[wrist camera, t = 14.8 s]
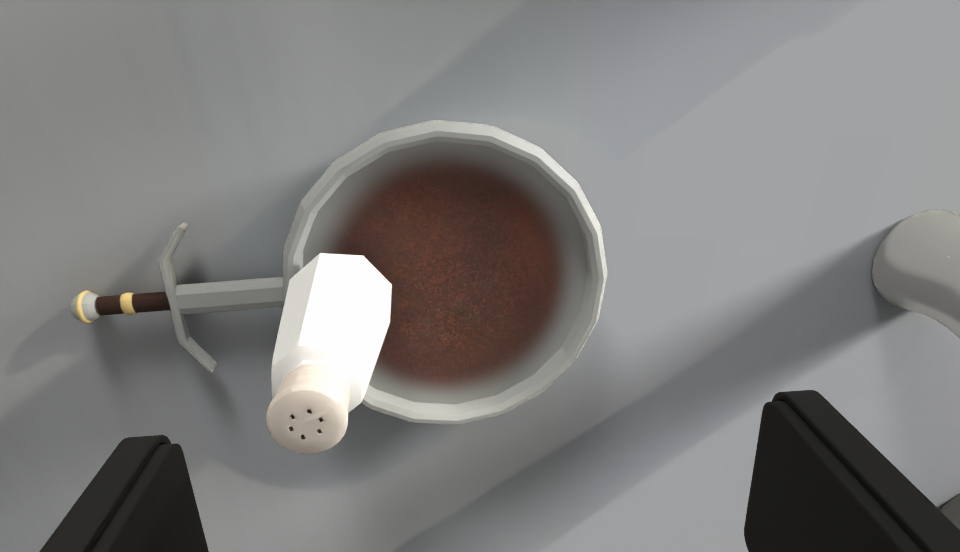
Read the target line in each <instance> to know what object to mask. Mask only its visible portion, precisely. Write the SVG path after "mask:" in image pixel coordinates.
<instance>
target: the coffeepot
mask: <svg viewBox="0 0 960 552" xmlns="http://www.w3.org/2000/svg"><path fill="white" fill-rule="evenodd" d="M940 511H941V512H942V513H943V514H944V515H945V516H946V517H947V518H948V519H949V520H950V521H951V522H952V523H953V524H954V525H955V526H956V527H957V528H958V529H959V530H960V495H958V496H956V497H955V498H953V499H952V500H950V501H949V502H948V503H946V504H945V505H944V506H943V507H942V508H941V509H940Z"/></svg>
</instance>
